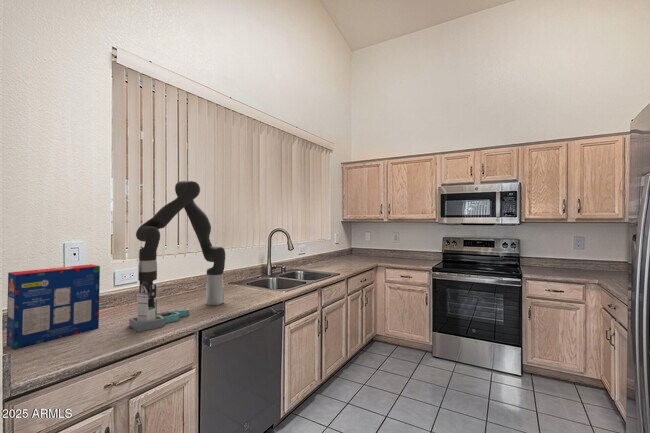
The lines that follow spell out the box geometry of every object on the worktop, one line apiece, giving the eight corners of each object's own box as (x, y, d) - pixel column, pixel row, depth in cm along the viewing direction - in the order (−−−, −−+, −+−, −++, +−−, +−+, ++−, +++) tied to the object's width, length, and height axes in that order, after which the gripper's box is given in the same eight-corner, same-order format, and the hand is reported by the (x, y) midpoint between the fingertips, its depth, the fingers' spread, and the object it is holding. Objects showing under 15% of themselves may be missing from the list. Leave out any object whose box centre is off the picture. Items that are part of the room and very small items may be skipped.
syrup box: (147, 327, 144) (148, 295, 144) (136, 326, 145) (137, 294, 145) (156, 323, 150) (157, 292, 150) (146, 322, 151) (146, 291, 151)
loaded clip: (188, 313, 168) (188, 307, 168) (188, 315, 163) (188, 310, 163) (171, 314, 165) (171, 309, 165) (170, 317, 160) (170, 311, 160)
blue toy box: (89, 325, 147) (91, 264, 147) (98, 328, 143) (99, 265, 143) (6, 345, 123) (8, 272, 123) (14, 350, 119) (15, 274, 119)
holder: (154, 320, 155) (155, 313, 155) (164, 326, 148) (164, 318, 148) (129, 326, 147) (129, 318, 147) (137, 332, 139) (137, 323, 140)
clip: (175, 317, 160) (175, 311, 160) (179, 320, 157) (180, 313, 157) (158, 321, 154) (158, 315, 154) (162, 323, 151) (162, 317, 151)
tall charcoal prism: (168, 316, 163) (168, 311, 163) (170, 317, 161) (170, 312, 161) (156, 318, 159) (156, 313, 159) (159, 320, 157) (159, 314, 157)
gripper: (162, 270, 146) (162, 306, 146) (150, 267, 155) (150, 300, 155) (144, 272, 140) (144, 310, 140) (133, 268, 150) (133, 303, 150)
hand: (147, 305), depth 148 cm, fingers open, 8 cm apart
